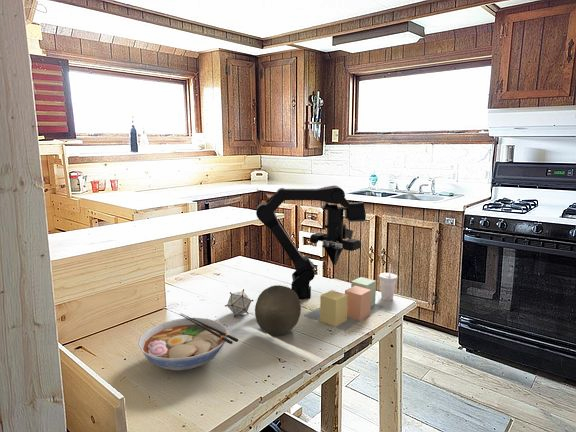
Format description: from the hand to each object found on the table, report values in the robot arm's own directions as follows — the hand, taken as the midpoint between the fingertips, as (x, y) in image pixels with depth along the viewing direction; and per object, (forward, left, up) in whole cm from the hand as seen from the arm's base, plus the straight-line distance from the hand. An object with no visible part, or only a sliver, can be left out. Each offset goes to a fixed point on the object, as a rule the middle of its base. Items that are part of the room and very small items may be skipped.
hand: (334, 264), depth 151 cm
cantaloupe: (-16, -30, -13) cm, 36 cm away
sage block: (+10, -7, -12) cm, 17 cm away
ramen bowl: (-38, -48, -13) cm, 63 cm away
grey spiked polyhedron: (-31, -17, -13) cm, 38 cm away
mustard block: (0, -21, -12) cm, 24 cm away
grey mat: (+4, -13, -13) cm, 19 cm away
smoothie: (+19, 0, -13) cm, 23 cm away
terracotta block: (+8, -16, -12) cm, 21 cm away
